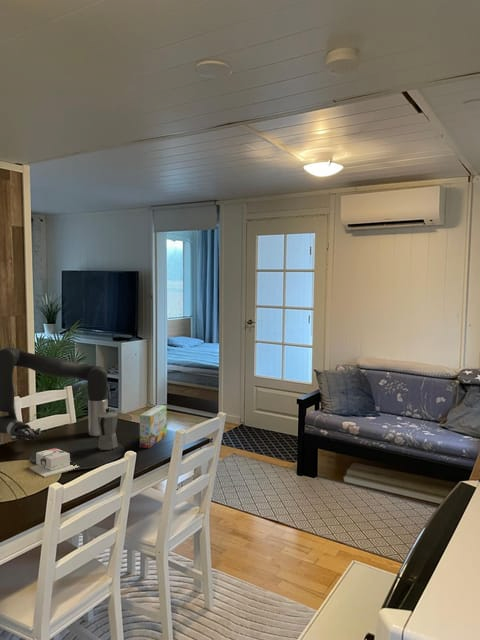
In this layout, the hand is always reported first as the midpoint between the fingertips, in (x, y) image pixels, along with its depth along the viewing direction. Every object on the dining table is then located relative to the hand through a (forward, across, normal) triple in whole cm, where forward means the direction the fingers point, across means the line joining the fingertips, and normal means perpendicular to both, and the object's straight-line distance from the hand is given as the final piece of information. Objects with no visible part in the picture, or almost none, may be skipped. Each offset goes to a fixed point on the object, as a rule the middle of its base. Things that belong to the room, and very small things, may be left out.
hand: (34, 438), depth 199 cm
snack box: (+19, +48, +8) cm, 52 cm away
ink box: (+11, 0, +5) cm, 12 cm away
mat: (+19, 0, +8) cm, 21 cm away
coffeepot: (+13, +27, +8) cm, 31 cm away
